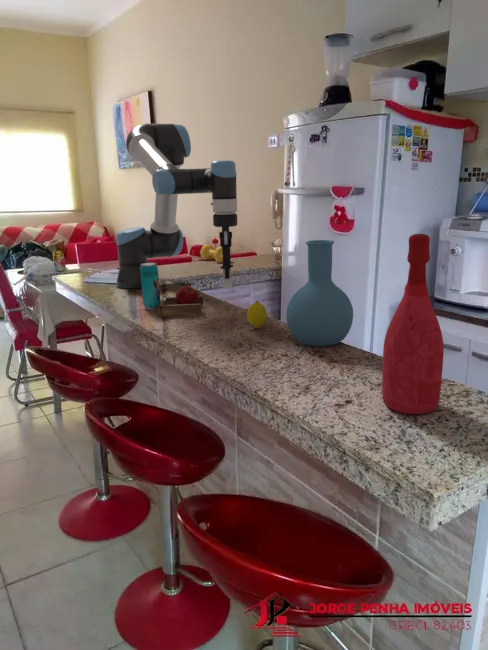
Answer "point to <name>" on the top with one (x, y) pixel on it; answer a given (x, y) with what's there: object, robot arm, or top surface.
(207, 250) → the dumbbell
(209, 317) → the top surface
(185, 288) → the apple
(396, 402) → the wine bottle
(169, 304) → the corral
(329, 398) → the top surface
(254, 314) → the fruit
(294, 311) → the vase
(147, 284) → the beverage can
